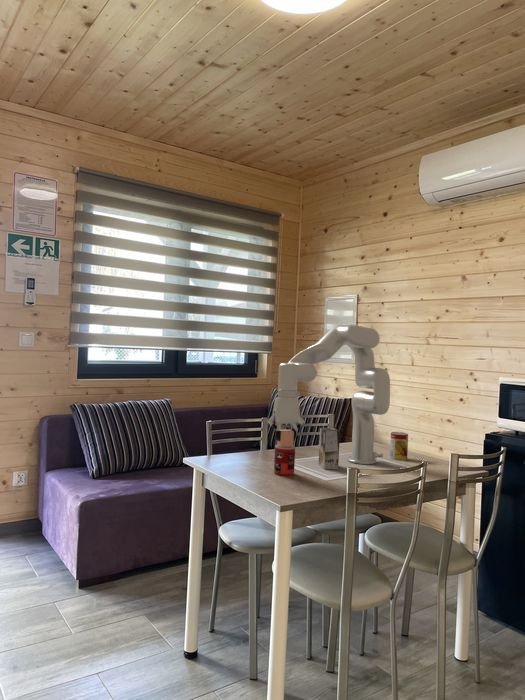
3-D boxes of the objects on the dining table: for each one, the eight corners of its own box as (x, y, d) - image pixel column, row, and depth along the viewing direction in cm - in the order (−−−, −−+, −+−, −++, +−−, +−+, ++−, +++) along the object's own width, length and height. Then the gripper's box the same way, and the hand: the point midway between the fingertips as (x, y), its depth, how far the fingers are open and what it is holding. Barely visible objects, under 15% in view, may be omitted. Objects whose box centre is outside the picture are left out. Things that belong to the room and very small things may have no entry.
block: (289, 444, 209) (289, 429, 209) (293, 446, 204) (293, 431, 204) (277, 444, 208) (277, 429, 208) (281, 447, 203) (281, 431, 203)
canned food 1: (272, 471, 209) (273, 443, 209) (292, 471, 210) (293, 444, 210) (274, 475, 202) (276, 447, 202) (295, 476, 202) (296, 447, 202)
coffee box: (338, 469, 217) (340, 430, 217) (323, 469, 216) (325, 430, 216) (332, 464, 226) (334, 427, 226) (318, 464, 225) (319, 426, 225)
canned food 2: (410, 460, 242) (411, 434, 242) (396, 460, 240) (397, 434, 240) (400, 456, 250) (401, 431, 250) (386, 457, 247) (387, 431, 247)
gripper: (304, 393, 212) (302, 438, 212) (263, 393, 207) (261, 439, 207) (311, 395, 205) (309, 441, 205) (269, 395, 200) (267, 442, 200)
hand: (285, 439), depth 206 cm, fingers open, 5 cm apart
